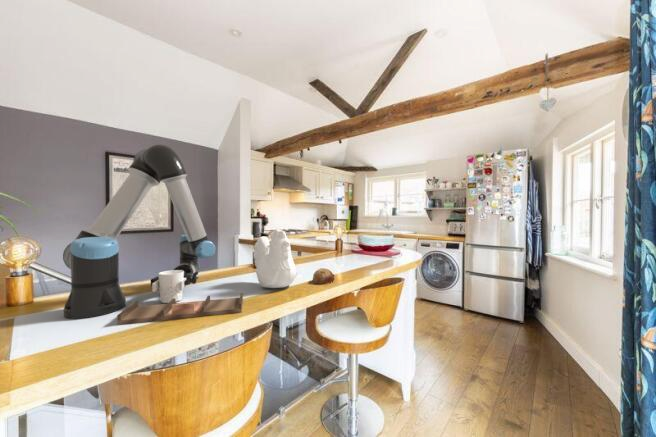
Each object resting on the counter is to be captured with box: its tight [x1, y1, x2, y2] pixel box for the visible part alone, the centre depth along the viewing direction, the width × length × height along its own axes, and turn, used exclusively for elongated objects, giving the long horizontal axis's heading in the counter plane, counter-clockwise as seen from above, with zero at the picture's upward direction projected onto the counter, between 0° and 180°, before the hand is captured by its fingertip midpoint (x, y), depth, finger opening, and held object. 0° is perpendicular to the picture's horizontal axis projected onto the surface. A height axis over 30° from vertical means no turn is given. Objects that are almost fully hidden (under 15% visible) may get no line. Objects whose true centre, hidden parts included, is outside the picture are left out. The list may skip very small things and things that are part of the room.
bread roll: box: [311, 267, 335, 285], centre depth 122 cm, size 10×10×8 cm
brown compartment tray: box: [116, 292, 244, 326], centre depth 85 cm, size 33×12×4 cm, turn 106°
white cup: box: [158, 269, 184, 304], centre depth 95 cm, size 8×8×10 cm
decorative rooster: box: [252, 228, 298, 289], centre depth 117 cm, size 25×16×25 cm, turn 35°
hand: (167, 286), depth 90 cm, fingers closed on white cup, 7 cm apart
